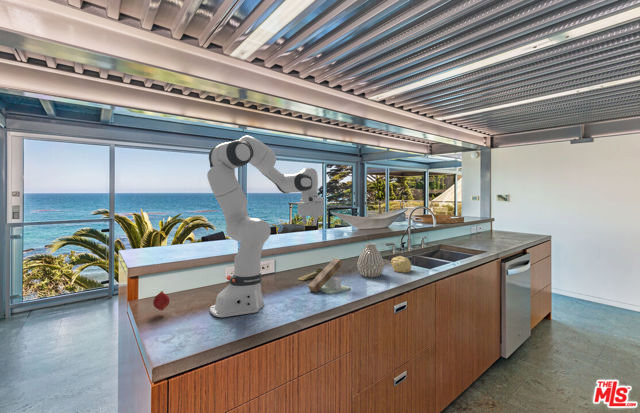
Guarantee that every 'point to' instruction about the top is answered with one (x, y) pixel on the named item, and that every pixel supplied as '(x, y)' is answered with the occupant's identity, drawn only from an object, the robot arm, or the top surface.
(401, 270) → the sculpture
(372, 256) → the vase
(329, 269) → the walnut bar
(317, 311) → the top surface
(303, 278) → the tool
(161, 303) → the onion
